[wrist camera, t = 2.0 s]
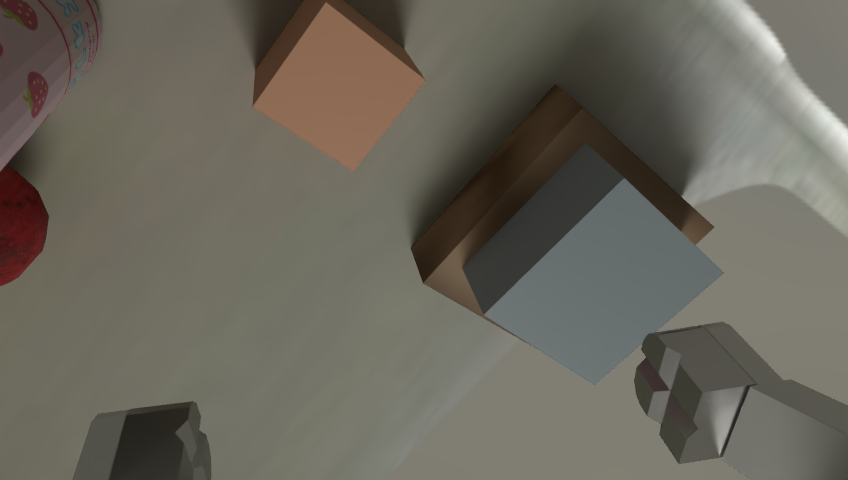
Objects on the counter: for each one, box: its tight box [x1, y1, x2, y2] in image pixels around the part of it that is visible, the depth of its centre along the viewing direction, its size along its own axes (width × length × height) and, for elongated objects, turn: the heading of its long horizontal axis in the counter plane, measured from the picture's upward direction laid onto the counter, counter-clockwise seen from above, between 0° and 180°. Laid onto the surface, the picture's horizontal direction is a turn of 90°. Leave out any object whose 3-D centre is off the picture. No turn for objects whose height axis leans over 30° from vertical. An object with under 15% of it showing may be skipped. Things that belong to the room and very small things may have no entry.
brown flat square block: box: [411, 85, 714, 349], centre depth 35 cm, size 12×12×4 cm
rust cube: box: [253, 0, 426, 171], centre depth 27 cm, size 5×5×5 cm
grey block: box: [462, 142, 724, 385], centre depth 32 cm, size 9×9×4 cm
